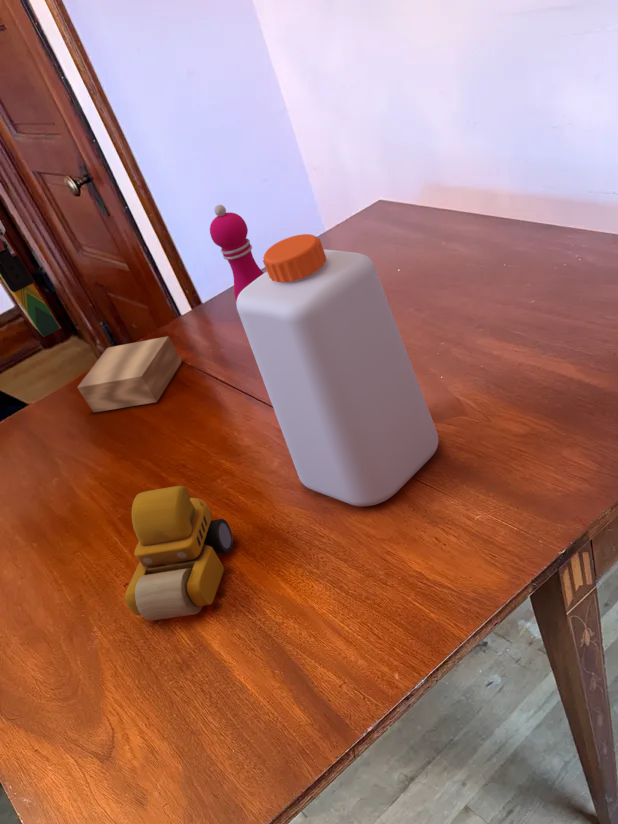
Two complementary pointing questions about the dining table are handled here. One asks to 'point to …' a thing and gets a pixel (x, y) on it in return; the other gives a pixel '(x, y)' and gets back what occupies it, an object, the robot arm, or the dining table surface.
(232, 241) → the pepper mill
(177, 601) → the toy roller
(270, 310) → the plastic bottle
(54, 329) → the crayon box
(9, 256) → the robot arm
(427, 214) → the dining table surface
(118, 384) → the maple block
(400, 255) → the dining table surface
